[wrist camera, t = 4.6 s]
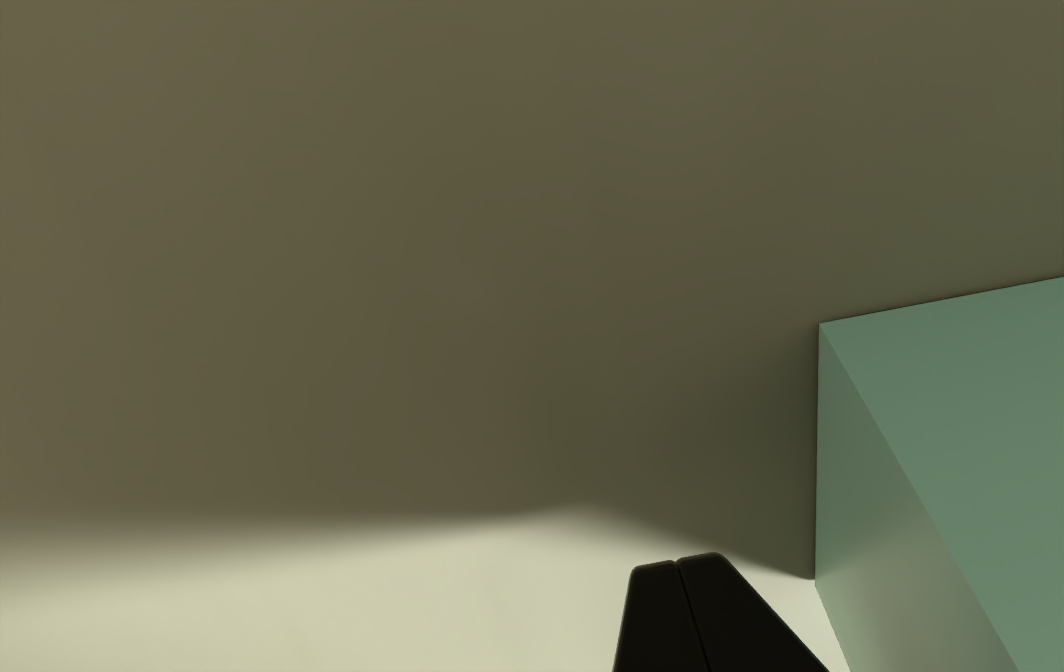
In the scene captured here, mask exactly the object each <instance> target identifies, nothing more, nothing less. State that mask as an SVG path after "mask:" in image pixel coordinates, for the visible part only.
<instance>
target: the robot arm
mask: <svg viewBox="0 0 1064 672" xmlns="http://www.w3.org/2000/svg"><path fill="white" fill-rule="evenodd" d="M612 672H830V671H829V670H828V669H827V668H826V667H825V666H824V665H823V664H822V663H821V662H820V661H819V659H818V658H817V657H816V656H815V655H814V654H813V653H812V652H811V651H810V650H809V648H808V647H807V646H806V645H805V644H804V643H803V642H802V641H801V640H800V639H799V637H798V636H797V635H796V634H795V633H794V632H793V631H792V630H791V629H790V628H789V627H788V625H787V624H786V623H785V622H784V621H783V620H782V619H781V618H780V617H779V616H778V614H777V613H776V612H775V611H774V610H773V609H772V608H771V607H770V606H769V605H768V603H767V602H766V601H765V600H764V599H763V598H762V597H761V596H760V595H759V594H758V593H757V591H756V590H755V589H754V588H753V587H752V586H751V585H750V584H749V583H748V582H747V580H746V579H745V578H744V577H743V576H742V575H741V574H740V573H739V572H738V571H737V569H736V568H735V567H734V566H733V565H732V564H731V563H730V562H729V561H728V560H727V559H726V558H725V557H724V556H723V555H721V554H720V553H717V552H710V553H704V554H699V555H694V556H688V557H683V558H680V559H678V560H677V561H676V562H675V561H672V560H667V561H661V562H656V563H651V564H645V565H640V566H637V567H635V568H634V569H633V570H632V572H631V574H630V578H629V583H628V589H627V594H626V600H625V605H624V611H623V616H622V622H621V627H620V632H619V638H618V643H617V649H616V654H615V660H614V665H613V671H612Z"/></svg>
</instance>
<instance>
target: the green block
mask: <svg viewBox="0 0 1064 672" xmlns="http://www.w3.org/2000/svg"><path fill="white" fill-rule="evenodd" d="M815 587H816V589H817V591H818V594H819V596H820V599H821V601H822V603H823V606H824V608H825V611H826V613H827V615H828V618H829V620H830V623H831V625H832V627H833V630H834V632H835V635H836V637H837V639H838V642H839V644H840V647H841V649H842V651H843V654H844V656H845V659H846V661H847V663H848V666H849V668H850V671H851V672H1064V277H1060V278H1055V279H1050V280H1044V281H1039V282H1034V283H1029V284H1024V285H1018V286H1013V287H1008V288H1003V289H997V290H992V291H987V292H982V293H976V294H971V295H966V296H961V297H955V298H950V299H945V300H940V301H935V302H929V303H924V304H919V305H914V306H908V307H903V308H898V309H893V310H887V311H882V312H877V313H872V314H867V315H861V316H856V317H851V318H846V319H840V320H835V321H830V322H825V323H819V364H818V428H817V492H816V556H815Z"/></svg>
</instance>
